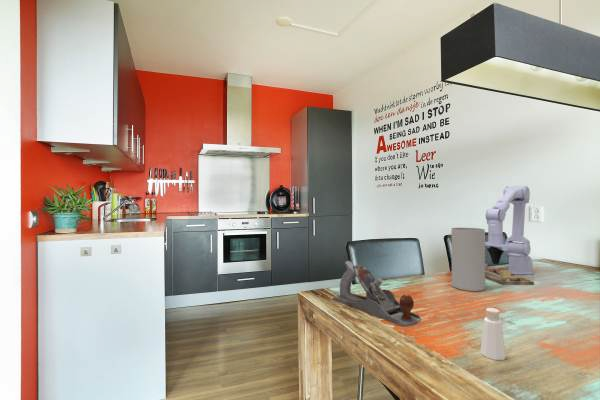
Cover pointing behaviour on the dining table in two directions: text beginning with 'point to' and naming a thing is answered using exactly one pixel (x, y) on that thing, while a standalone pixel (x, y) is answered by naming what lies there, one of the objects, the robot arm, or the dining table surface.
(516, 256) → the robot arm
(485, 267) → the trammel
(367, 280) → the hand plane
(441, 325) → the dining table surface
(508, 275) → the block
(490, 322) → the salt shaker
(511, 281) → the slide rail board
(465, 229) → the cylinder vase
